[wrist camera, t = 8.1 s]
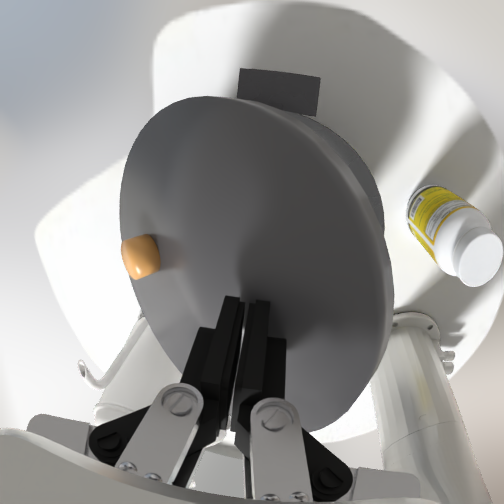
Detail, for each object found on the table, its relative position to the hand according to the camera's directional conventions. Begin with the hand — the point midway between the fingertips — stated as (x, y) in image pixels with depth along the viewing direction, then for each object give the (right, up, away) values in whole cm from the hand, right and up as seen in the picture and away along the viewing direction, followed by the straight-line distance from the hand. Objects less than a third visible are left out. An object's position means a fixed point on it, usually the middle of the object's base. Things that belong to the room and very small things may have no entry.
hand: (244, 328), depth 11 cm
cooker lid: (-1, +2, +3) cm, 4 cm away
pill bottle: (+19, +7, +16) cm, 26 cm away
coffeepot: (-11, -9, +28) cm, 32 cm away
